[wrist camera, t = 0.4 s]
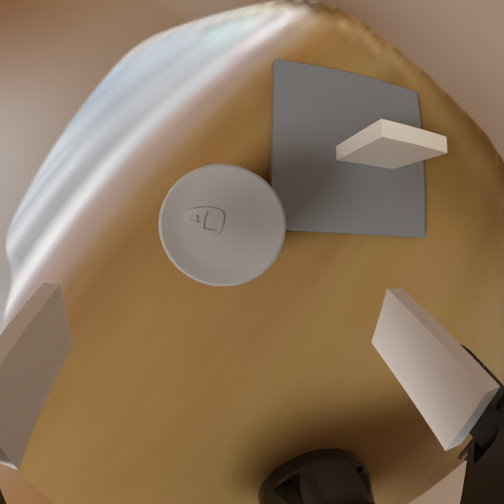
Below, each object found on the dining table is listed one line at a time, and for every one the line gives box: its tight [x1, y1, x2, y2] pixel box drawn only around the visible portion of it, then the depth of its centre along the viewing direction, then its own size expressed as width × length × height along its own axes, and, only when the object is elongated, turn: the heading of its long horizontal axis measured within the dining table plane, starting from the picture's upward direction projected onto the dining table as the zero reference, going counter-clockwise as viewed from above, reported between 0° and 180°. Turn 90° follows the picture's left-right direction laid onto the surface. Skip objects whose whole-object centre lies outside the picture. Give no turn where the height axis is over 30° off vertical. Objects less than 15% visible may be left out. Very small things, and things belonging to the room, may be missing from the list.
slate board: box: [269, 59, 425, 238], centre depth 31 cm, size 18×18×1 cm
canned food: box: [158, 164, 286, 287], centre depth 25 cm, size 8×8×11 cm
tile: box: [336, 119, 448, 169], centre depth 26 cm, size 2×7×9 cm, turn 88°
